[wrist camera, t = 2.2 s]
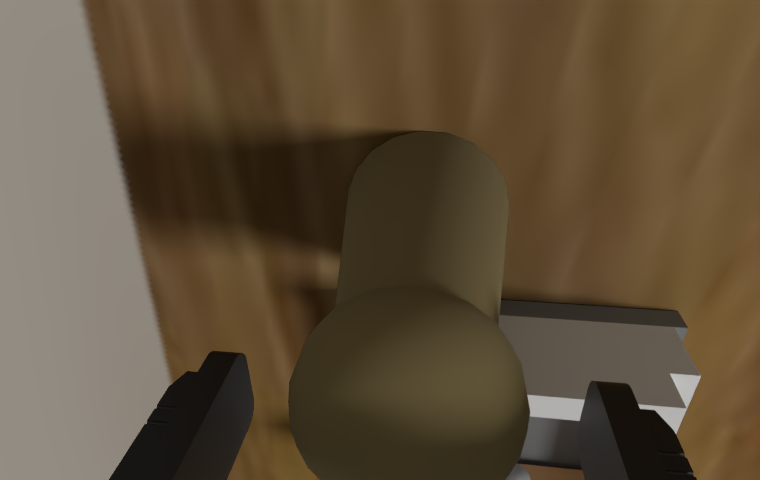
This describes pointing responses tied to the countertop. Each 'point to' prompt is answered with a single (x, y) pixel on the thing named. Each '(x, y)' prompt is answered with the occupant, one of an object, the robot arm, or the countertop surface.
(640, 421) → the robot arm
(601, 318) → the white walled tray
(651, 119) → the countertop surface
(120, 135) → the countertop surface
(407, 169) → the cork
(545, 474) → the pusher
